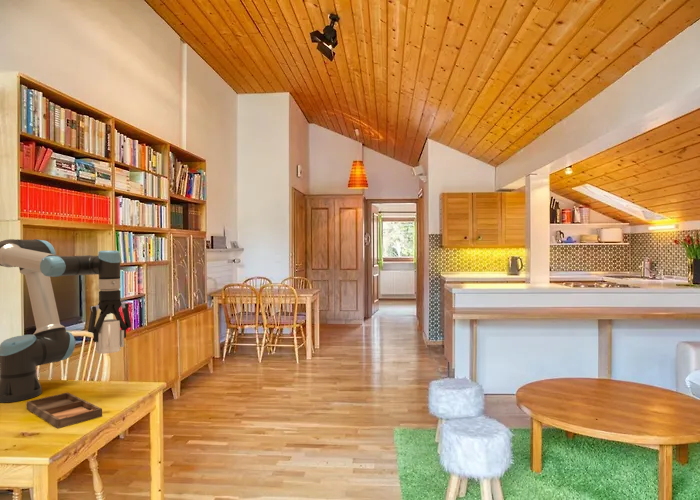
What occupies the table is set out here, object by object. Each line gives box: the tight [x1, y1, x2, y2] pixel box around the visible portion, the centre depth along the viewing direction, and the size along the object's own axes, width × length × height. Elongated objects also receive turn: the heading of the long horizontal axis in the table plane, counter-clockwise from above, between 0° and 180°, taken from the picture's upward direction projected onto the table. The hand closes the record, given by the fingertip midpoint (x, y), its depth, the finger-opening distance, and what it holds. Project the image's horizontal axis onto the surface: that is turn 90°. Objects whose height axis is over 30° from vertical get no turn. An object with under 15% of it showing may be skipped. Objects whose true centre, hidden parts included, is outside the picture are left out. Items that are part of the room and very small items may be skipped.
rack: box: [26, 392, 103, 429], centre depth 162 cm, size 30×14×3 cm, turn 51°
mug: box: [95, 318, 122, 354], centre depth 178 cm, size 12×8×12 cm
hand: (110, 348), depth 179 cm, fingers closed on mug, 8 cm apart
